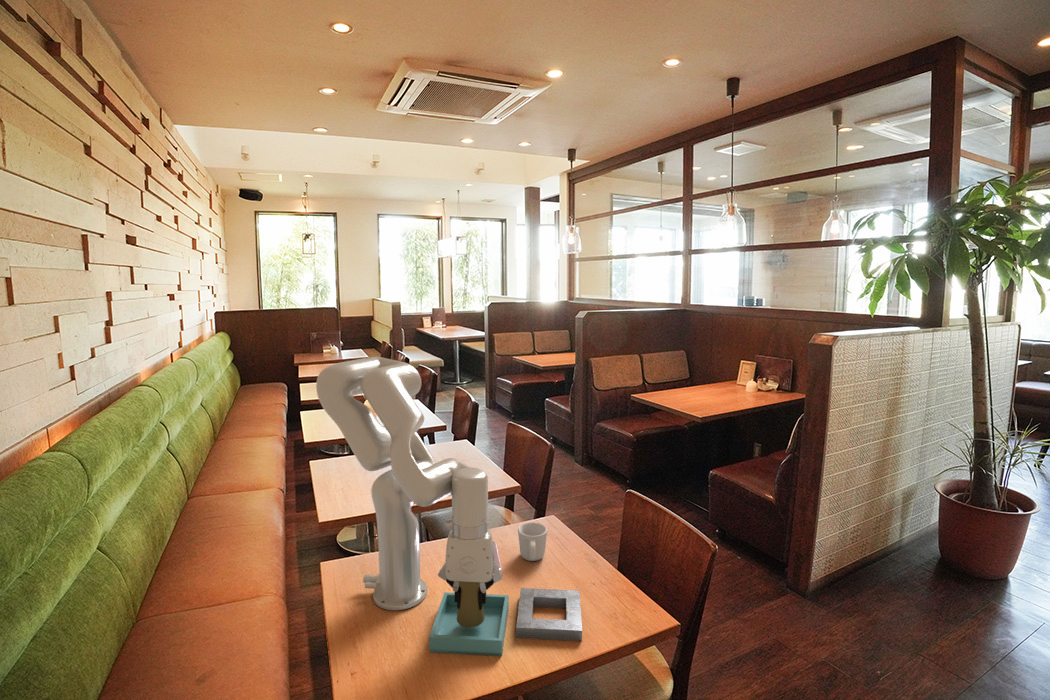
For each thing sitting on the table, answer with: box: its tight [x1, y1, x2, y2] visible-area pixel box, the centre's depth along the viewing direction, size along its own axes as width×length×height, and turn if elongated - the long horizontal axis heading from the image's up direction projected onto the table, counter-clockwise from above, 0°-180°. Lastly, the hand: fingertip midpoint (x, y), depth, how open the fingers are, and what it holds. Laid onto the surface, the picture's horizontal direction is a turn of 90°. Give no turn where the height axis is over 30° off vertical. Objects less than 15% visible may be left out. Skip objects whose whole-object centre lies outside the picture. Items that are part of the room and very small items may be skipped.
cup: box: [517, 521, 548, 562], centre depth 144 cm, size 11×8×8 cm
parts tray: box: [428, 592, 510, 657], centre depth 117 cm, size 15×15×4 cm
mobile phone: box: [493, 541, 502, 572], centre depth 145 cm, size 8×1×15 cm
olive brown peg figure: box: [457, 582, 484, 628], centre depth 116 cm, size 6×6×11 cm
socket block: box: [515, 587, 583, 642], centre depth 121 cm, size 14×14×2 cm
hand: (470, 604), depth 116 cm, fingers closed on olive brown peg figure, 4 cm apart
